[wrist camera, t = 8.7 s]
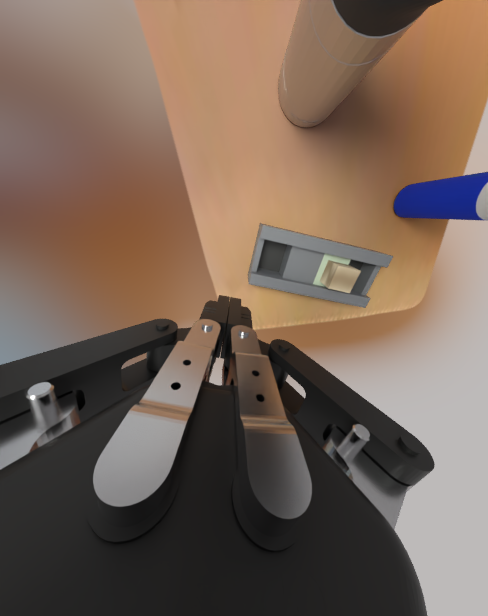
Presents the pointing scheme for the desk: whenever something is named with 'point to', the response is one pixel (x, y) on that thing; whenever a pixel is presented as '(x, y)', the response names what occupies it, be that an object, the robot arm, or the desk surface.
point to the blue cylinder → (445, 199)
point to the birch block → (339, 276)
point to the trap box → (310, 264)
